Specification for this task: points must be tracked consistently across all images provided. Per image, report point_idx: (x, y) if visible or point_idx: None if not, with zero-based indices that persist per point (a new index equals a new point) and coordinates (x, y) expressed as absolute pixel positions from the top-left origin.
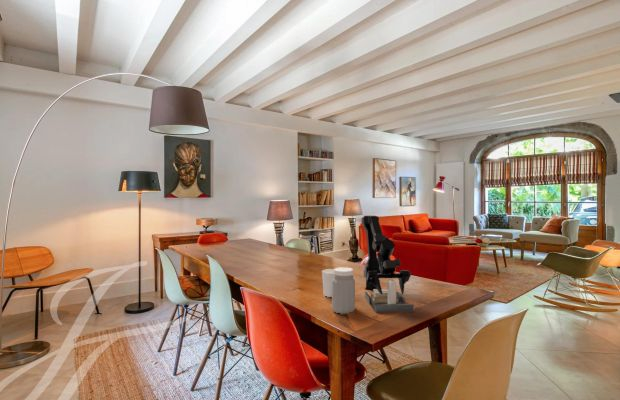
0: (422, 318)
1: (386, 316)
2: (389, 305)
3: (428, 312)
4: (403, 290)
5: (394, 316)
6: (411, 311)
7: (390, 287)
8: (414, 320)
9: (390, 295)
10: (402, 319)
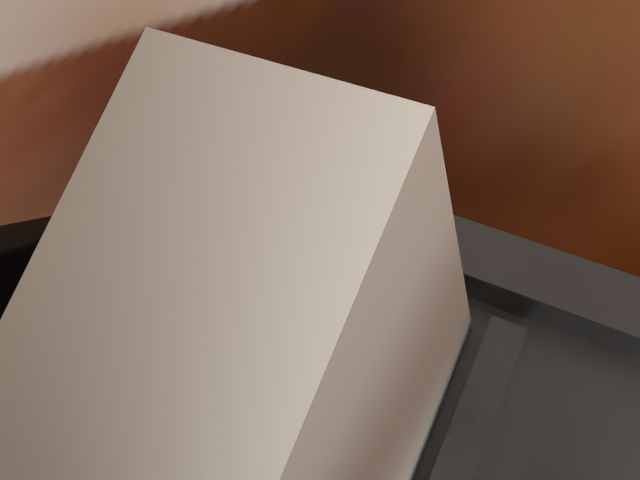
0: (222, 26)
1: (629, 246)
2: (552, 249)
3: (22, 153)
4: (34, 225)
5: (504, 199)
6: None
7: (431, 264)
8: (352, 3)
9: (451, 308)
10: (471, 72)
